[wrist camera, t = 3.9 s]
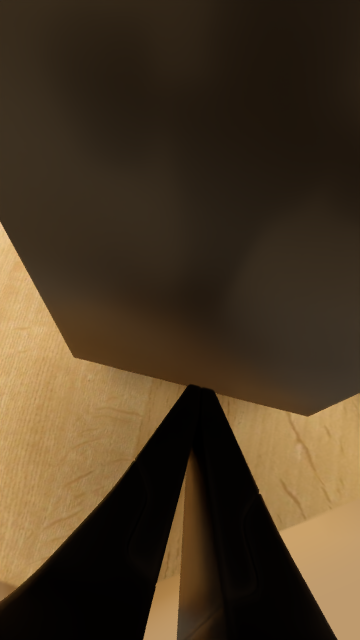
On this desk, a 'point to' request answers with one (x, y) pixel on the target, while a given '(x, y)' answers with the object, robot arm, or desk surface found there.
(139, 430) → the desk surface
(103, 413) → the desk surface
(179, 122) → the lid
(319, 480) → the desk surface
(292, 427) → the desk surface
